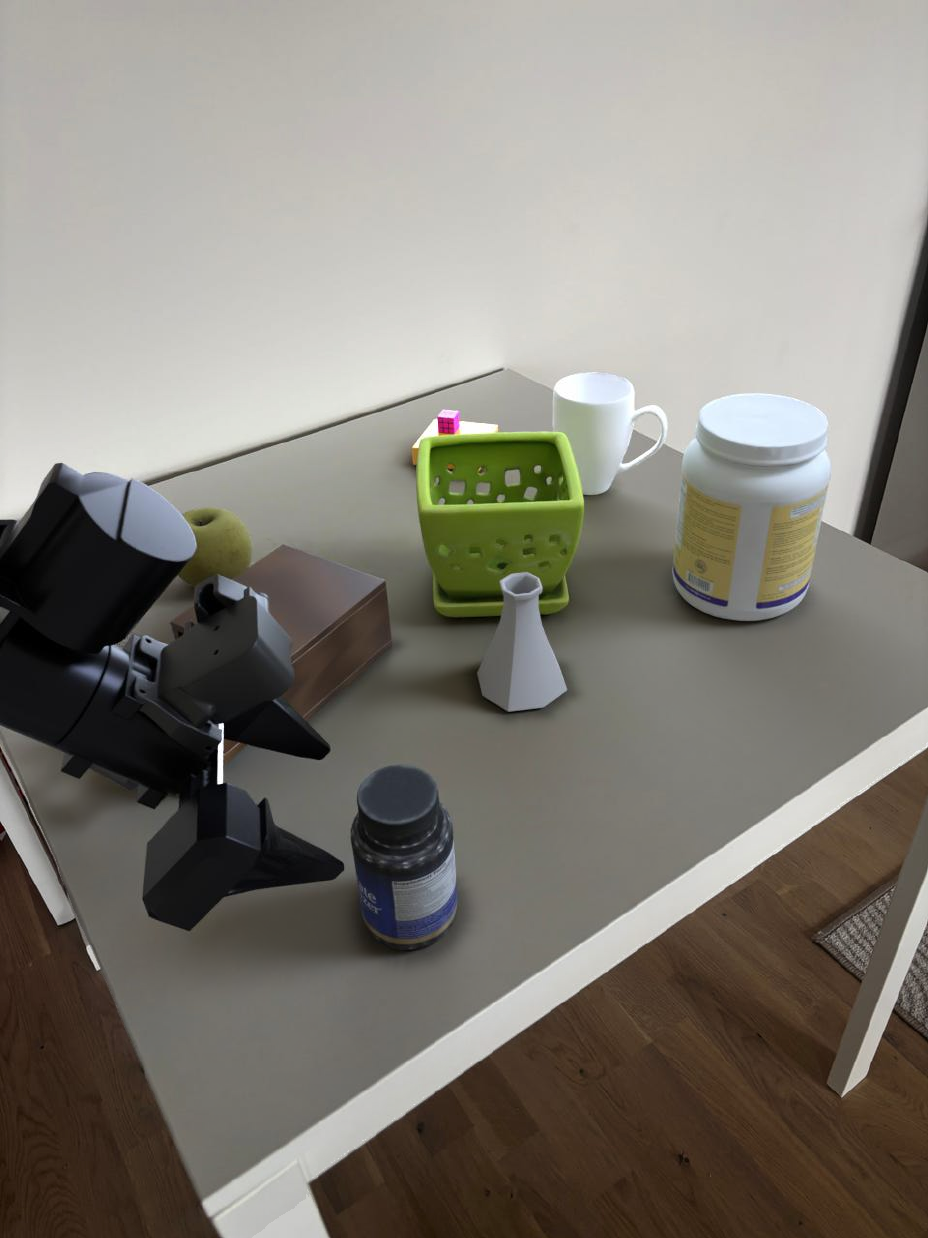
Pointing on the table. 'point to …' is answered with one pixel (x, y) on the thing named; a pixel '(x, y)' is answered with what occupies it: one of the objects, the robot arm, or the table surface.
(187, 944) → the table surface
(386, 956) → the table surface
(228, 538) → the apple
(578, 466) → the mug
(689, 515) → the supplement tub
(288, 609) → the cabinet
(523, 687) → the flask
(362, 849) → the pill bottle
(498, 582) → the flower pot
